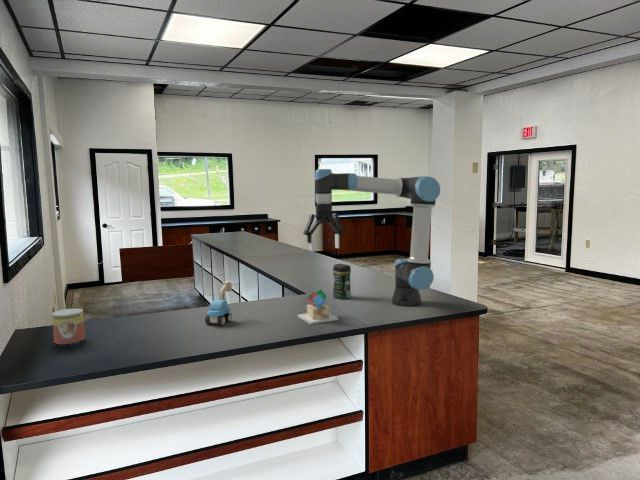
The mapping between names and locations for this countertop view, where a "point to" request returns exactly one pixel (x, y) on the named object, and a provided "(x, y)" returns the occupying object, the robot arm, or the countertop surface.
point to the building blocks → (317, 298)
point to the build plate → (311, 321)
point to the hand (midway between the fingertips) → (324, 249)
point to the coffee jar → (341, 281)
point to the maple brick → (317, 311)
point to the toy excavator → (220, 308)
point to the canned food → (68, 325)
